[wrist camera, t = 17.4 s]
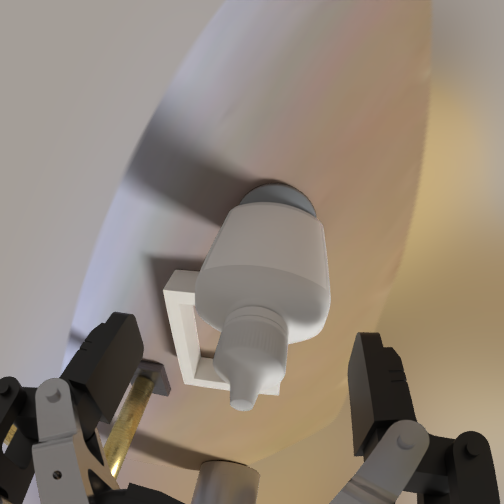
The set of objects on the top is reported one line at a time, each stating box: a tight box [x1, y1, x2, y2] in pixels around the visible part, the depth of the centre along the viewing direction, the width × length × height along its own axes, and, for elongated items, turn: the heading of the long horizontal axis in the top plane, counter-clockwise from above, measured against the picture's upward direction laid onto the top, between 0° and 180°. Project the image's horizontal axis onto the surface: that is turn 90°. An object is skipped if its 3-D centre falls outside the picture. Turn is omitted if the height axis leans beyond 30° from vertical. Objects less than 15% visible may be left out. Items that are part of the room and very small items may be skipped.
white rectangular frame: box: [163, 270, 280, 395], centre depth 23 cm, size 10×8×2 cm
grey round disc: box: [239, 183, 316, 217], centre depth 19 cm, size 5×5×1 cm
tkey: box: [4, 376, 154, 480], centre depth 20 cm, size 18×2×14 cm, turn 30°
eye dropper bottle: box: [195, 202, 331, 411], centre depth 14 cm, size 4×6×12 cm
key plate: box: [130, 361, 171, 396], centre depth 29 cm, size 4×4×1 cm
